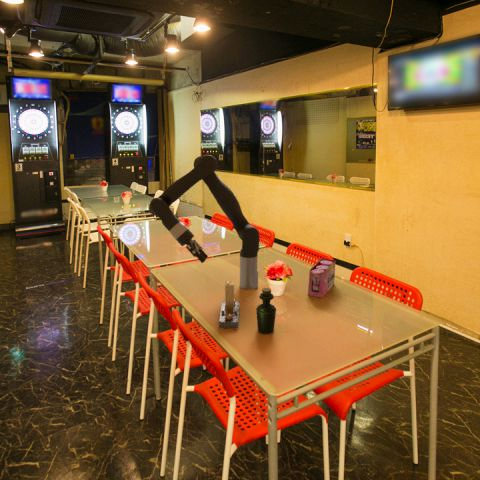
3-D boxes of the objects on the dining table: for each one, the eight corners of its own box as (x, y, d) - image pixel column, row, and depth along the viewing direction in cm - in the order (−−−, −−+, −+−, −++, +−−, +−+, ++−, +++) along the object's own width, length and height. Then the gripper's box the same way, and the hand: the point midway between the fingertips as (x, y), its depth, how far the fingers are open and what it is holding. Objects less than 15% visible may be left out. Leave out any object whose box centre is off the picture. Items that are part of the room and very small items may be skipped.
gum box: (322, 299, 205) (323, 272, 202) (306, 296, 209) (307, 270, 206) (334, 284, 226) (335, 260, 223) (320, 282, 230) (321, 258, 226)
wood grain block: (225, 308, 186) (225, 281, 183) (234, 308, 186) (233, 281, 183) (225, 313, 181) (225, 285, 178) (233, 313, 181) (233, 285, 178)
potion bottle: (270, 324, 177) (270, 284, 173) (279, 333, 170) (280, 291, 165) (252, 328, 174) (253, 287, 169) (261, 336, 167) (262, 294, 162)
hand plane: (222, 307, 195) (222, 297, 194) (239, 307, 195) (239, 297, 194) (219, 328, 174) (219, 317, 172) (238, 328, 173) (238, 317, 172)
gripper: (184, 230, 183) (209, 257, 184) (190, 226, 197) (213, 252, 198) (172, 241, 184) (197, 268, 185) (178, 237, 198) (201, 262, 199)
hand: (205, 259), depth 192 cm, fingers open, 8 cm apart
